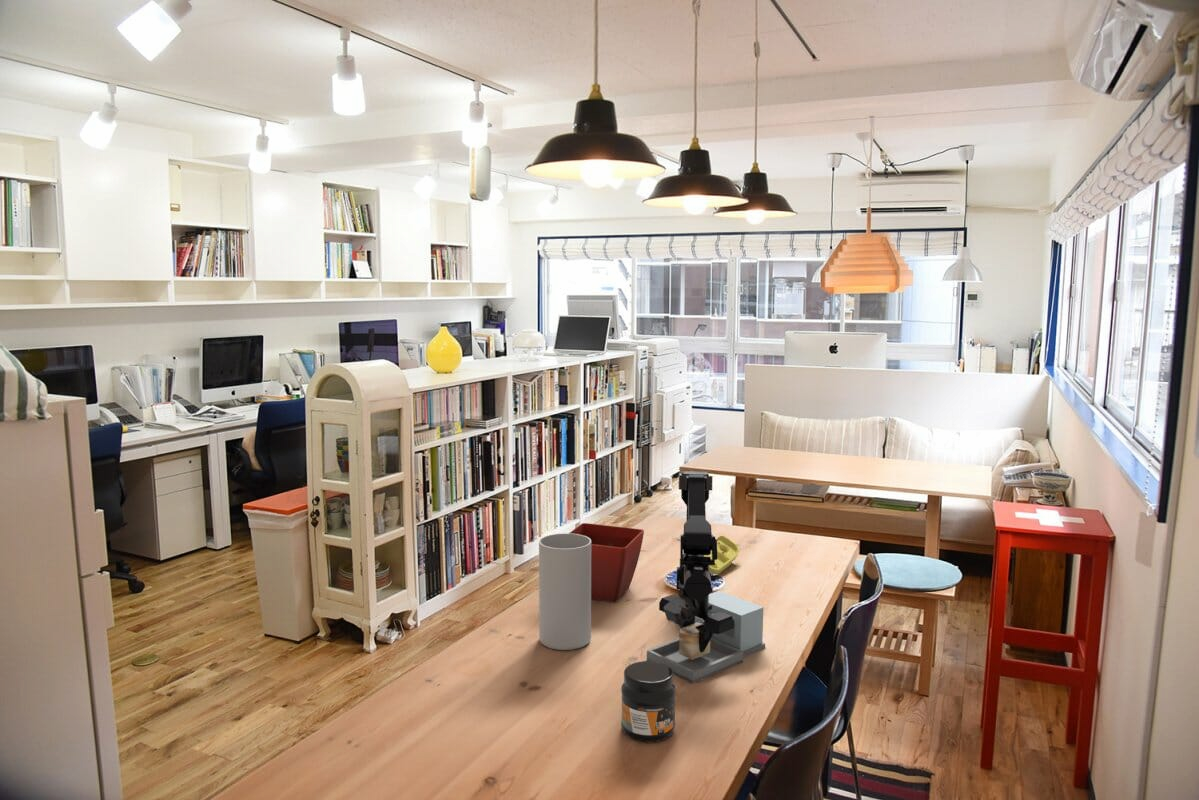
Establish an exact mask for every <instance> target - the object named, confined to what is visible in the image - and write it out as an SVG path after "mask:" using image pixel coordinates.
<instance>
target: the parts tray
mask: <svg viewBox="0 0 1199 800" xmlns="http://www.w3.org/2000/svg"><path fill="white" fill-rule="evenodd" d="M679 643H680V637H678V638H677V639H673V640H671V641H668V642H665V643H662V644H660V645H657V646H655V647H653V648H650V649H647V650H646V661H653V662H659V663H662V664H665V665H667V666H668V667H670V668H671V669H672V671H673V674H674V676H677V677H678V678H681V679H683V680H685V681H687V682H689V683H690V684H695V683H697V682H700V681H702V680H703V681H704V680H705V679H708V678H709V677H711V676H714V675H717V674H718V673H722V672H724V671H725V670H728V669H730V668H733V667H735V666H738V665H739V664H741V663H744V657H743V651H741V650H738V649H736V648H734V647H731V646H729V645H727V644H724V643H722V642H720V641H717V640H715V639H713V638H711V639H710V653H707V654H705V655H703V656H700V657H698V658H695V659H693V660H691V659H689V658H687V657H685V656H683V655H681V654H679Z"/></svg>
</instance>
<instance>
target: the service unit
mask: <svg viewBox="0 0 1199 800" xmlns="http://www.w3.org/2000/svg"><path fill="white" fill-rule="evenodd" d="M709 604H711V605H712V609H711V610H709V611H708V613H710V614H715V613H718V612H723V613H725V614H728V615H730V616H732V617H733V618H734V621H735V622H734V628H733V629H731V630H728V631H726V632H723V633H720V634H713V635H712V637H711V638H713V639H715V640H717V641H720V642H722V643H724V644H727V645H729V646H731V647H734V648H736V649H738V650H741V651H743V658H744V657H746V656H748V655H751V654H752V653H755V652H758V651H760V650H763V649H765V648H766V643H765V642H763V636H764V634H763V631H764V606H761V605H759V604H756V603H753V602H750V601H748V600H745V599H743V598H739V597H737V596H734V595H731V594H729V593H727V592H723V591H722V590H721V591H720V590H719V591H713V592H711V593H710V594H709ZM697 622H699V623H702V620H701V619H698V618H697Z"/></svg>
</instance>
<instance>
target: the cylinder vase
mask: <svg viewBox="0 0 1199 800" xmlns="http://www.w3.org/2000/svg"><path fill="white" fill-rule="evenodd" d="M538 599H539V600H538V603H539V604H538V607H539V608H538V609H539V611H538V612H539V613H538V615H539V616H538V617H539V619H538V620H539V623H538V625H539V627H538V628H539V634H538V635H539V636H538V638H539V641H540V643H541V644H542V645H543V646H545V647H546V648H549V649H552V650H557V651H573V650H578V649H580V648H581V649H582V648H583V647H585V646H587V645H588V644H589V643H590V641H591V638H592V599H591V539H590V538H588V537H586V536H583V535H579V534H570V532H568V533H566V532H565V533H554V534H552V533H551V534H548V535H545V536H543V537H541V538H540V539H539V540H538Z"/></svg>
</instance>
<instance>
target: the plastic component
mask: <svg viewBox="0 0 1199 800" xmlns="http://www.w3.org/2000/svg"><path fill="white" fill-rule="evenodd" d="M716 540H717V560H715V565H710V568H709V572H710V573H712V574H718V575H719V574H721V573H722V572H723V571H724V570H727V568H729V567H730V566H731V564H732V563H733V562H734V561H735V560H736V558H737V557H738V556H739V554H740V552H741V550H740V547H739V546H738V545H737V543H735V542H734V541H733V540H731V539H730V538H729V537H727V536H726V535H723V534H721V535H720V536H718V537H717V538H716ZM704 557H711V559H712V551H711V554H710V555H704Z"/></svg>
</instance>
